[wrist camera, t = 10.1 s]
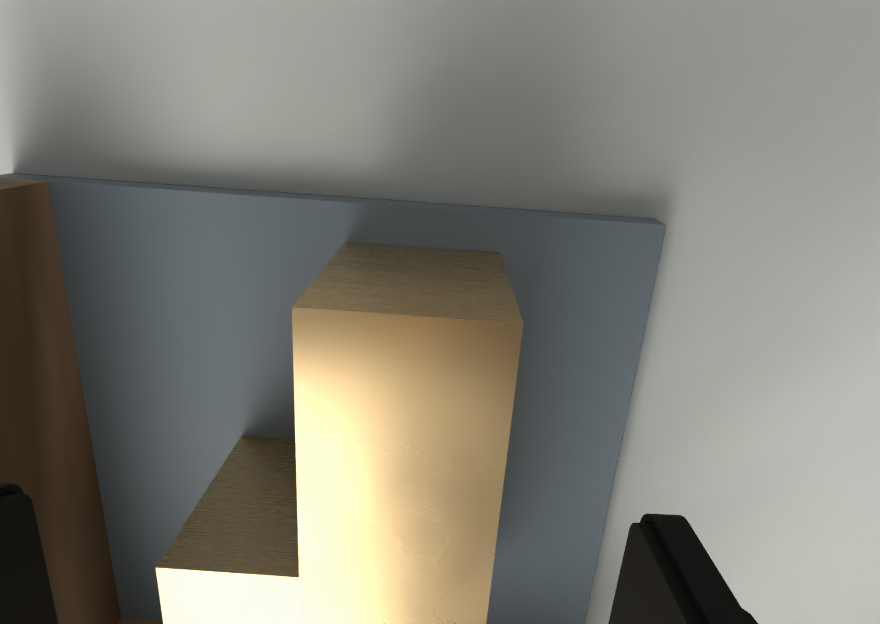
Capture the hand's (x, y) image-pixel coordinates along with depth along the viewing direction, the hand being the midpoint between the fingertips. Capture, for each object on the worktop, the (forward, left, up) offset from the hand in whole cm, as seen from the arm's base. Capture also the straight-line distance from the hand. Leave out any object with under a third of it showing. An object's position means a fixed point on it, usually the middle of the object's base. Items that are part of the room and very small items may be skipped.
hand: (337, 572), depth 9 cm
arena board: (-2, -3, -8) cm, 9 cm away
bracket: (-1, -1, -7) cm, 7 cm away
